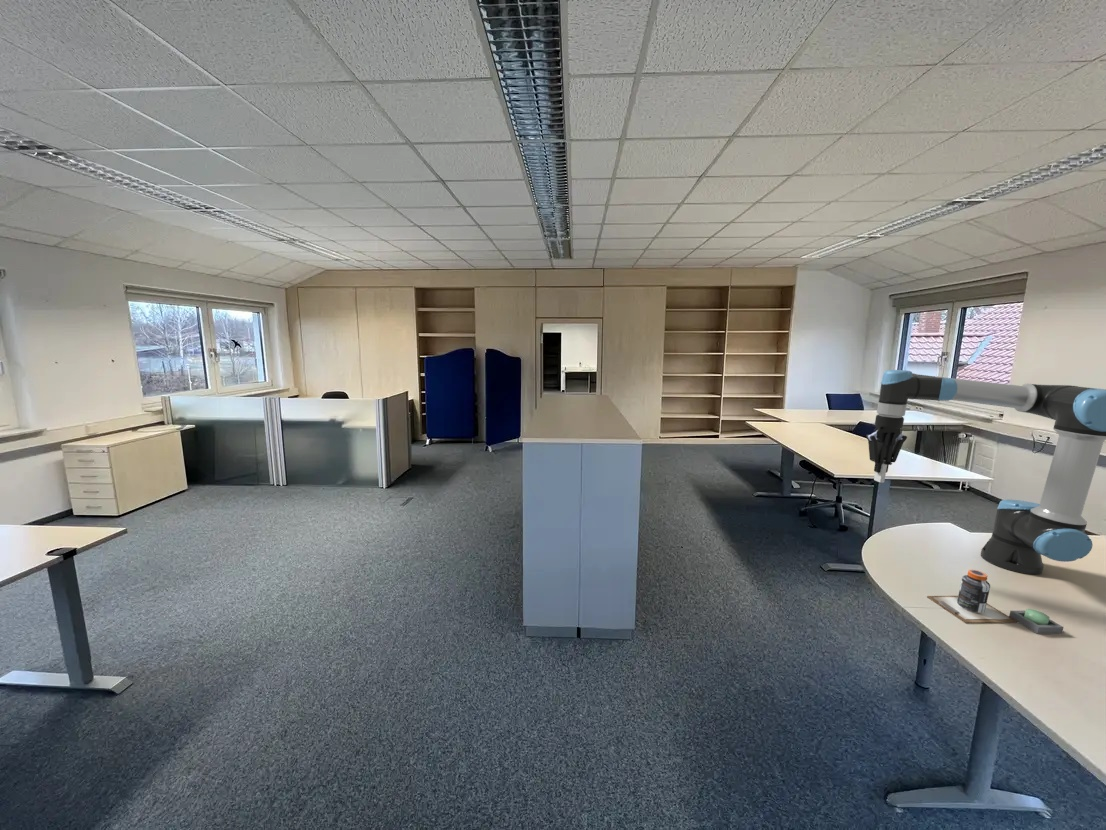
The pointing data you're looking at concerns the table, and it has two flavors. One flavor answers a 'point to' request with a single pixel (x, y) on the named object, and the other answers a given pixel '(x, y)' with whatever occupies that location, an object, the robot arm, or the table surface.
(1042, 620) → the button
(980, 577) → the pill bottle
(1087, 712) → the table surface
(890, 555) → the table surface
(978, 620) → the clipboard
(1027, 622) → the button frame
